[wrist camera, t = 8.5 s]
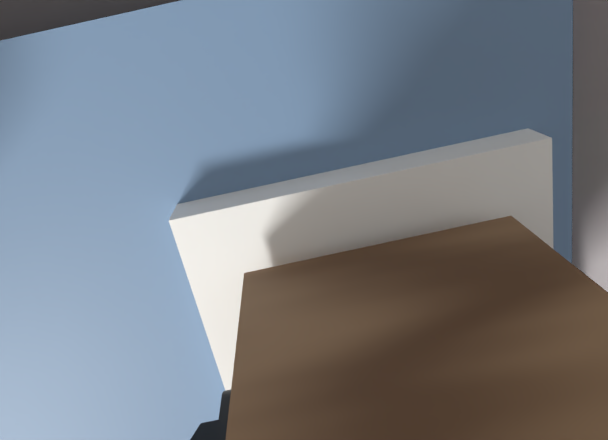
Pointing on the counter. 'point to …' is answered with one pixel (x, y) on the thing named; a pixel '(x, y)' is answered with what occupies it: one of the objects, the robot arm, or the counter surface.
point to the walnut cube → (424, 343)
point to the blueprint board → (246, 178)
